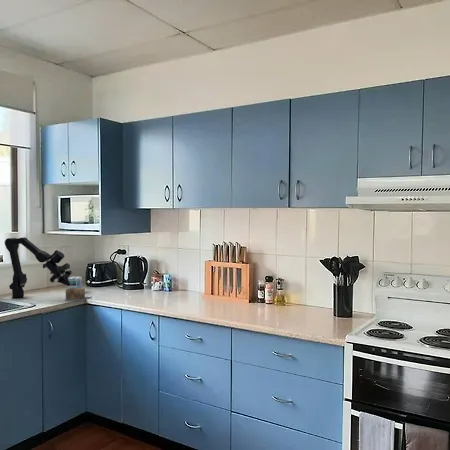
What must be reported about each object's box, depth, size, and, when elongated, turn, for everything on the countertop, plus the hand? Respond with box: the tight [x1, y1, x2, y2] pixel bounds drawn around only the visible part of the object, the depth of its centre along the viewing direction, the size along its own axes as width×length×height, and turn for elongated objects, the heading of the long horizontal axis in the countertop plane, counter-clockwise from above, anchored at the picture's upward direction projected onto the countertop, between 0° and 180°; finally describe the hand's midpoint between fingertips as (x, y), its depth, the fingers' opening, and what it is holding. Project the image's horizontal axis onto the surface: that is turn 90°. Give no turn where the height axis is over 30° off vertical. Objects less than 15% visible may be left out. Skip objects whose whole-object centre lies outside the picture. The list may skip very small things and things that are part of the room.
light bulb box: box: [67, 276, 83, 289], centre depth 314 cm, size 11×7×11 cm, turn 179°
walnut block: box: [65, 287, 86, 300], centre depth 292 cm, size 6×6×10 cm
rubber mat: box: [65, 296, 92, 302], centre depth 292 cm, size 12×12×1 cm
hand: (69, 285), depth 292 cm, fingers closed
